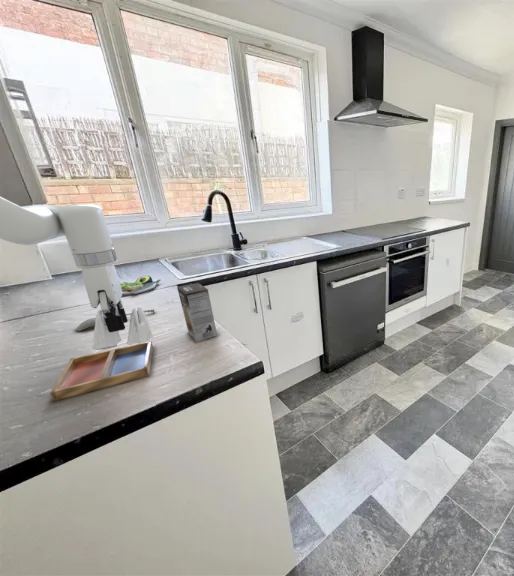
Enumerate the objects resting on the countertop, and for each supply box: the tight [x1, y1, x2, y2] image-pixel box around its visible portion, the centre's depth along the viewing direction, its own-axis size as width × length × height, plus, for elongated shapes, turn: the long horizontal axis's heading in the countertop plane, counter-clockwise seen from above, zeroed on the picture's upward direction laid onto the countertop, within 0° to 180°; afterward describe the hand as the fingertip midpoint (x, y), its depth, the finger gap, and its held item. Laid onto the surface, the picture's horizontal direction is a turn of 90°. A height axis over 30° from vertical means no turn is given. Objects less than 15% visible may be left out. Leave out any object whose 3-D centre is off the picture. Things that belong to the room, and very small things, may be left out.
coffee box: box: [176, 282, 218, 343], centre depth 98 cm, size 9×6×16 cm
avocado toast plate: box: [120, 274, 162, 297], centre depth 140 cm, size 19×18×5 cm
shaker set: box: [91, 306, 154, 351], centre depth 80 cm, size 12×4×11 cm, turn 125°
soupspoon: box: [75, 308, 155, 332], centre depth 110 cm, size 22×3×7 cm
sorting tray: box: [49, 340, 154, 402], centre depth 81 cm, size 18×17×2 cm
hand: (118, 326), depth 80 cm, fingers closed on shaker set, 4 cm apart
